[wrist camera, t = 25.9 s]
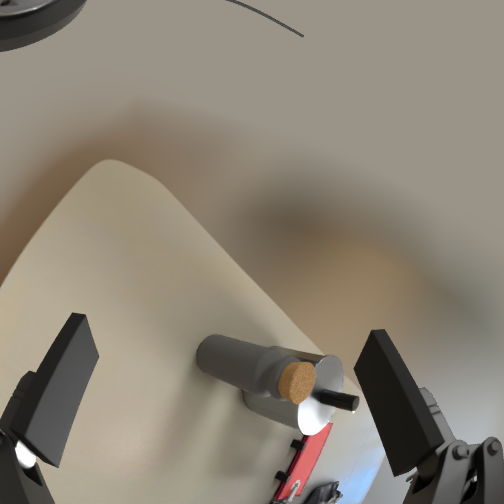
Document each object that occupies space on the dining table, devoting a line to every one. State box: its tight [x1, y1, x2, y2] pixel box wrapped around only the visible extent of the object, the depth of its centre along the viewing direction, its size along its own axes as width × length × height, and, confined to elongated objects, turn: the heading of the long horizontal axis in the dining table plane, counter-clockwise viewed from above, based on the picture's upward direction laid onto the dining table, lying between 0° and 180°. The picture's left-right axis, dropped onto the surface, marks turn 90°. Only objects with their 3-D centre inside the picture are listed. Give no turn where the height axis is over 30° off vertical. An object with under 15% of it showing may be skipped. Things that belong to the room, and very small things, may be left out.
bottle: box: [197, 335, 315, 404], centre depth 32 cm, size 6×6×15 cm
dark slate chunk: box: [305, 481, 343, 504], centre depth 58 cm, size 15×22×5 cm
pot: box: [243, 346, 323, 430], centre depth 42 cm, size 12×12×10 cm
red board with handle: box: [270, 422, 333, 504], centre depth 50 cm, size 30×3×15 cm
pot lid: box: [295, 355, 359, 435], centre depth 36 cm, size 13×13×7 cm
